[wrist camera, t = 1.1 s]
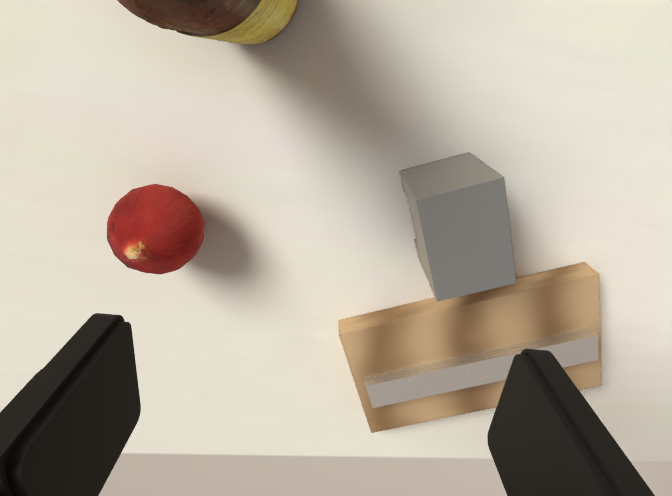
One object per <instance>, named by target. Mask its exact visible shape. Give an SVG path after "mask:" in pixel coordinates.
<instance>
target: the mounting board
mask: <svg viewBox="0 0 672 496" xmlns="http://www.w3.org/2000/svg"><path fill="white" fill-rule="evenodd" d="M585 328H588V329H589V330H590V331H591V332H593V331H594V332H595V333H596V334H597V335H598V358H599V360H596V361H591V362H586V363H582V364H577V365H572V366H568V367H563V369H564V370H565V372H566V373H567V375H568V376H569V377H570V379H571V380H572V381H573V383H574V384H575V386H576V387H577V388H578V390H581V389H585V388H590V387H595V386H600V385H602V375H601V334H600V294H599V274H598V273H597V272H596V271H595V270H594V269H592V268H591V267H590V266H589V265H588V264H586V263H585V262H583V263H578V264H574V265H570V266H566V267H562V268H557V269H553V270H549V271H545V272H540V273H536V274H532V275H528V276H524V277H519V278H516V283H515V284H511V285H506V286H502V287H498V288H494V289H489V290H485V291H481V292H477V293H472V294H468V295H464V296H460V297H455V298H451V299H447V300H443V301H438V302H437V300H436V298H431V299H427V300H422V301H418V302H414V303H410V304H405V305H401V306H397V307H393V308H389V309H384V310H380V311H376V312H372V313H367V314H363V315H359V316H355V317H351V318H346V319H342V320H339V337H340V340H341V343H342V346H343V349H344V352H345V355H346V358H347V361H348V364H349V367H350V370H351V373H352V376H353V379H354V382H355V385H356V388H357V391H358V394H359V397H360V400H361V403H362V406H363V409H364V412H365V415H366V418H367V421H368V424H369V427H370V430H371V433H373V432H378V431H383V430H388V429H393V428H397V427H402V426H407V425H412V424H417V423H422V422H426V421H431V420H436V419H441V418H446V417H450V416H455V415H460V414H465V413H470V412H475V411H479V410H484V409H489V408H494V407H497V405H498V402H499V399H500V396H501V393H502V390H503V387H504V384H505V381H506V380H502V381H497V382H493V383H488V384H483V385H479V386H474V387H469V388H465V389H460V390H455V391H451V392H446V393H441V394H436V395H432V396H427V397H422V398H418V399H413V400H408V401H404V402H399V403H394V404H390V405H385V406H380V407H376V408H372V405H371V402H370V399H369V395H368V392H367V389H366V386H365V382H366V378H365V377H368V376H372V375H377V374H381V373H386V372H390V371H395V370H399V369H404V368H408V367H413V366H418V365H422V364H427V363H431V362H436V361H440V360H445V359H449V358H454V357H458V356H463V355H467V354H472V353H476V352H481V351H485V350H490V349H494V348H499V347H503V346H508V345H512V344H517V343H521V342H526V341H530V340H535V339H539V338H544V337H548V336H553V335H557V334H562V333H566V332H571V331H576V330H580V329H585Z"/></svg>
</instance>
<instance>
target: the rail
mask: <svg viewBox="0 0 672 496" xmlns="http://www.w3.org/2000/svg"><path fill="white" fill-rule="evenodd" d="M524 349H536V350H548V351H550V352H551V353H552V354H553V355H554V356H555V358H556V359H557V361H558V362H559V363H560V365H561V366H562V368H563V367H568V366H572V365H577V364H582V363H586V362H591V361H596V360H599V358H598V335H597V334H596V333H595V332H594V331H593V332H591V331H590V330H589V329H588V328H585V329H580V330H576V331H571V332H566V333H562V334H557V335H553V336H548V337H544V338H539V339H535V340H530V341H526V342H521V343H517V344H512V345H508V346H503V347H499V348H494V349H490V350H485V351H481V352H476V353H472V354H467V355H463V356H458V357H454V358H449V359H445V360H440V361H436V362H431V363H427V364H422V365H418V366H413V367H408V368H404V369H399V370H395V371H390V372H386V373H381V374H377V375H372V376H368V377H365V378H366V382H365V386H366V389H367V392H368V395H369V399H370V402H371V405H372V408H376V407H380V406H385V405H390V404H394V403H399V402H404V401H408V400H413V399H418V398H422V397H427V396H432V395H436V394H441V393H446V392H451V391H455V390H460V389H465V388H469V387H474V386H479V385H483V384H488V383H493V382H497V381H502V380H506V378H507V375H508V373H509V370H510V367H511V364H512V361H513V358H514V356H515V355H516V354H521V352H522V351H523V350H524Z"/></svg>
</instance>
